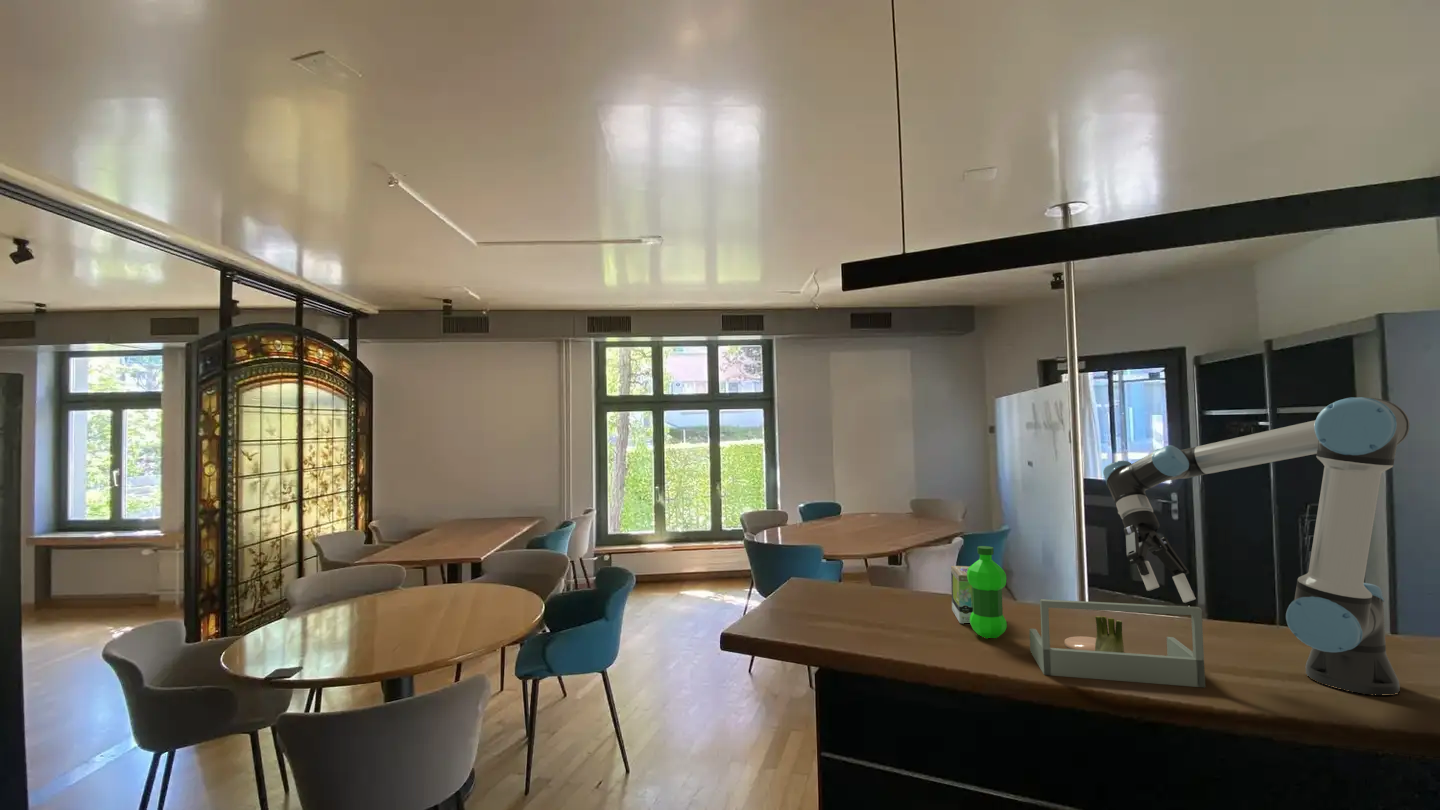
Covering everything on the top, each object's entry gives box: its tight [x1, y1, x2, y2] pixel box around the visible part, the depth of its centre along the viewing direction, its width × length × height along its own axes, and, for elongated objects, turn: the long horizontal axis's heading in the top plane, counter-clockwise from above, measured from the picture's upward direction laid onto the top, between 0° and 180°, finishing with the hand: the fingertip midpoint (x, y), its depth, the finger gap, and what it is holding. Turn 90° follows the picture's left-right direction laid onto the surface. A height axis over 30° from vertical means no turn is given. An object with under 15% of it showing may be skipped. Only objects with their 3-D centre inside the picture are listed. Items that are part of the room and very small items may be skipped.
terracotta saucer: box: [1064, 635, 1096, 651], centre depth 170 cm, size 13×13×1 cm
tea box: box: [950, 565, 973, 624], centre depth 198 cm, size 15×10×15 cm, turn 168°
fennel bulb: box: [1095, 615, 1125, 653], centre depth 157 cm, size 6×5×12 cm
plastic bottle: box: [967, 545, 1008, 639], centre depth 181 cm, size 10×10×25 cm
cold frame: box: [1029, 598, 1206, 688], centre depth 155 cm, size 16×33×18 cm, turn 74°
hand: (1171, 594), depth 152 cm, fingers open, 13 cm apart
